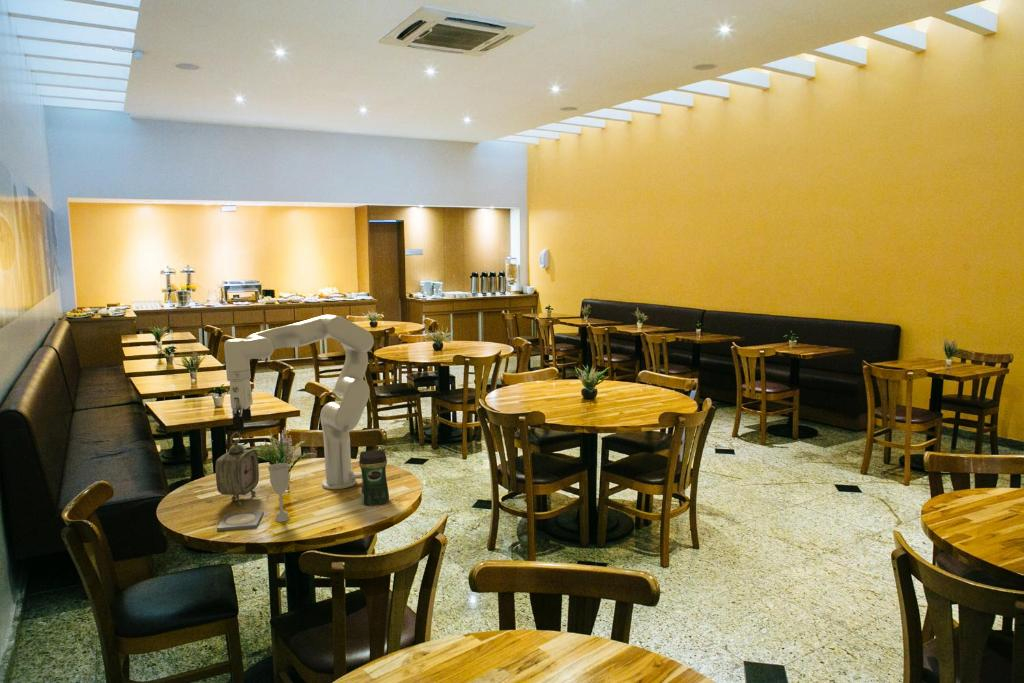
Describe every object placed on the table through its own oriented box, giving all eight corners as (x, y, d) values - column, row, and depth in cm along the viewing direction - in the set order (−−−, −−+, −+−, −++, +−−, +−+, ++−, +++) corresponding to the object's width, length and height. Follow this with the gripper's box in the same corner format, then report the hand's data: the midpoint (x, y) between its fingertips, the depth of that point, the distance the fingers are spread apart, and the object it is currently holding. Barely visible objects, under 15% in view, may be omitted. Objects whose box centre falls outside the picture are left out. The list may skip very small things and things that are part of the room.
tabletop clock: (241, 508, 236) (236, 438, 232) (216, 508, 236) (211, 438, 233) (260, 493, 250) (255, 427, 247) (236, 493, 251) (231, 427, 247)
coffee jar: (387, 496, 244) (385, 446, 242) (390, 504, 237) (387, 452, 234) (360, 499, 242) (357, 449, 239) (361, 507, 234) (359, 455, 232)
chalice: (274, 515, 229) (270, 463, 227) (295, 514, 229) (291, 462, 227) (268, 523, 222) (264, 470, 219) (290, 522, 222) (286, 469, 220)
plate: (263, 513, 230) (263, 510, 230) (256, 527, 219) (256, 524, 218) (226, 516, 228) (225, 513, 228) (216, 531, 217) (216, 527, 216)
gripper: (243, 379, 223) (247, 430, 225) (256, 370, 240) (260, 417, 242) (219, 380, 222) (223, 431, 224) (234, 371, 239) (238, 418, 241)
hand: (242, 424), depth 233 cm, fingers open, 9 cm apart
